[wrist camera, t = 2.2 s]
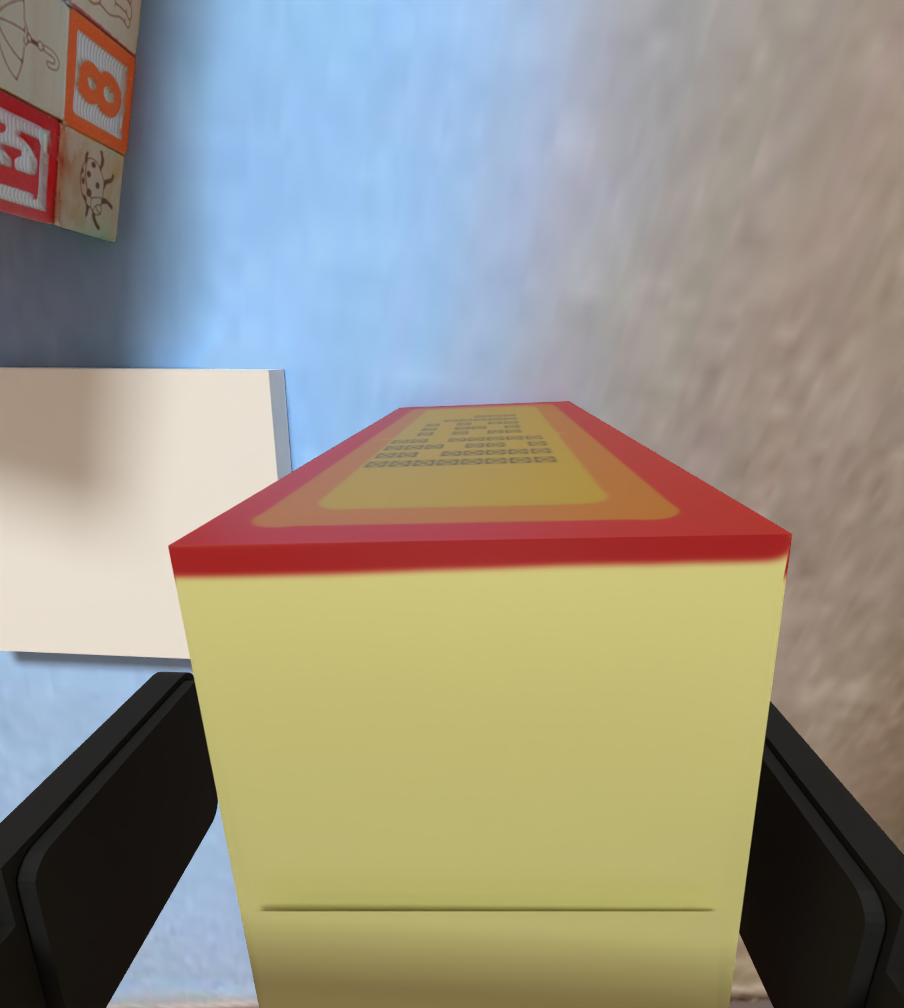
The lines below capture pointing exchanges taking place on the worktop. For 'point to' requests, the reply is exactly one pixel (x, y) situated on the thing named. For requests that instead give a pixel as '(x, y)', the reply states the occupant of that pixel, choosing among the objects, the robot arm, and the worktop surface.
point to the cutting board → (121, 495)
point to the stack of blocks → (66, 110)
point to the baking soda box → (486, 714)
